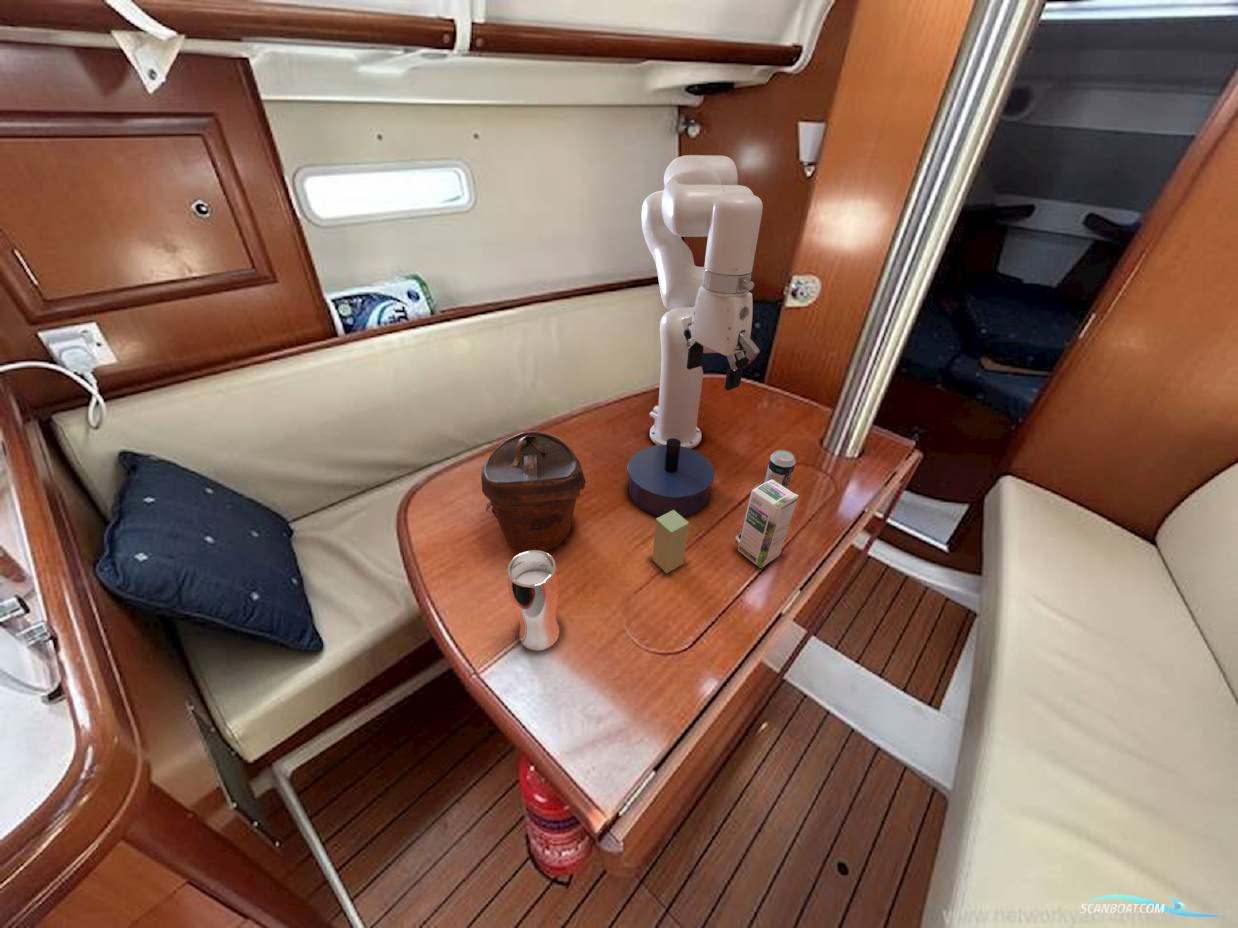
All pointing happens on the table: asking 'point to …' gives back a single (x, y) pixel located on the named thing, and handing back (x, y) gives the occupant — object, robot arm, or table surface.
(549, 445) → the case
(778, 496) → the syrup box
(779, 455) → the pill bottle
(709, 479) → the lid
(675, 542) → the block
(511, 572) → the beer glass
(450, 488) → the table surface
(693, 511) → the pot
